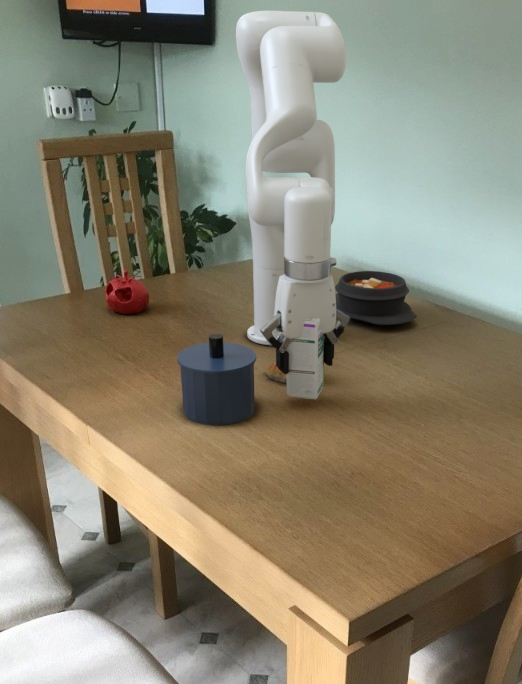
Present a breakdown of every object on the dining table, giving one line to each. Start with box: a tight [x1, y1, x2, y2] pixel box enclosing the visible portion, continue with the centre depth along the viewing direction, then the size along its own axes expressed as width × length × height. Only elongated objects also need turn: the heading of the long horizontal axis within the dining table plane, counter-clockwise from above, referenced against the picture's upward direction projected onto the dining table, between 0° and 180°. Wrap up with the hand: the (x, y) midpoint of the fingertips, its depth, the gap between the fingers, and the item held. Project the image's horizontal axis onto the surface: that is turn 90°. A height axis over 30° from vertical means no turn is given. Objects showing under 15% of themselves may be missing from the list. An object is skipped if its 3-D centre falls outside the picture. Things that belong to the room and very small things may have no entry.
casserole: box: [334, 270, 417, 326], centre depth 187 cm, size 25×19×8 cm
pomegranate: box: [104, 269, 150, 315], centre depth 187 cm, size 10×10×9 cm
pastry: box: [265, 362, 286, 384], centre depth 155 cm, size 9×7×4 cm
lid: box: [176, 333, 257, 374], centre depth 138 cm, size 13×13×5 cm
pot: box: [179, 363, 256, 426], centre depth 141 cm, size 12×13×10 cm
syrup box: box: [285, 318, 325, 400], centre depth 142 cm, size 6×6×14 cm
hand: (305, 366), depth 144 cm, fingers closed on syrup box, 8 cm apart
